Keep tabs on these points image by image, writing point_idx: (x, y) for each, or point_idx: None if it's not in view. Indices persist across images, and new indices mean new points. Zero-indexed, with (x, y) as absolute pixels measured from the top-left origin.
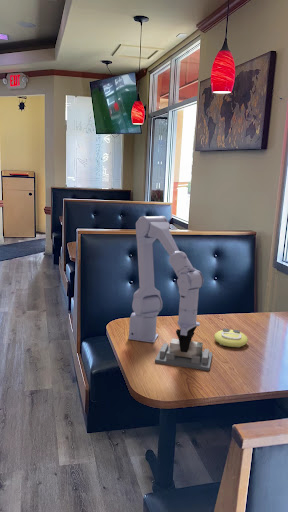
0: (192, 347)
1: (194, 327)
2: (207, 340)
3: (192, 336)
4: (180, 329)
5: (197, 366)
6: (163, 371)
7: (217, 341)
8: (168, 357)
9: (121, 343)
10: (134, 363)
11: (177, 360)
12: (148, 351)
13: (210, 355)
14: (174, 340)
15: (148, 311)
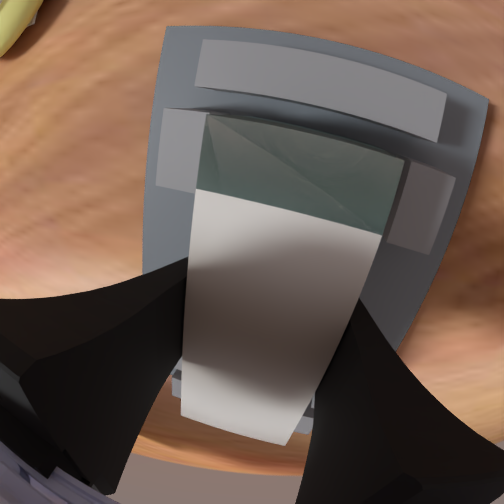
0: (363, 276)
1: (44, 395)
2: (3, 98)
3: (501, 453)
4: (127, 455)
5: (464, 190)
6: (451, 379)
7: (17, 36)
8: None
9: (173, 454)
10: None
11: None
12: None
13: (228, 37)
14: (222, 414)
15: (38, 489)
